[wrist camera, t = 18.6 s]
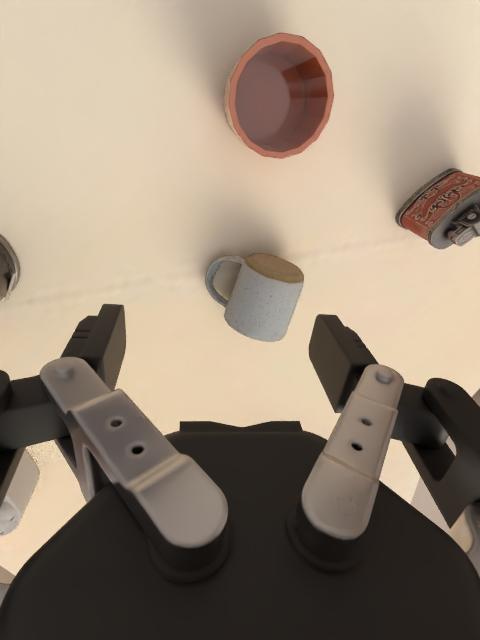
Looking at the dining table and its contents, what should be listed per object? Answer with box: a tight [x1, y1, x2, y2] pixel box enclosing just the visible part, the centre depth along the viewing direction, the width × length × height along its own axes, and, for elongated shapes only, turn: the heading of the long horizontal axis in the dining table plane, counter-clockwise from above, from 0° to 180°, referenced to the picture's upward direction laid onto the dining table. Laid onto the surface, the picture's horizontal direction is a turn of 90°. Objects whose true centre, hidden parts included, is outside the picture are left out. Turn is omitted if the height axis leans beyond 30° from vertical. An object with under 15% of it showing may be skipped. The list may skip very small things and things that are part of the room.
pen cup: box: [224, 33, 334, 158], centre depth 31 cm, size 8×8×8 cm
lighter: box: [396, 169, 480, 249], centre depth 36 cm, size 8×3×10 cm, turn 134°
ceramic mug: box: [205, 254, 304, 342], centre depth 40 cm, size 11×8×8 cm
